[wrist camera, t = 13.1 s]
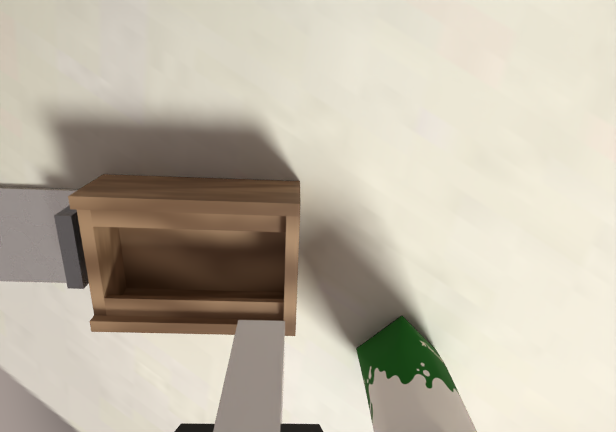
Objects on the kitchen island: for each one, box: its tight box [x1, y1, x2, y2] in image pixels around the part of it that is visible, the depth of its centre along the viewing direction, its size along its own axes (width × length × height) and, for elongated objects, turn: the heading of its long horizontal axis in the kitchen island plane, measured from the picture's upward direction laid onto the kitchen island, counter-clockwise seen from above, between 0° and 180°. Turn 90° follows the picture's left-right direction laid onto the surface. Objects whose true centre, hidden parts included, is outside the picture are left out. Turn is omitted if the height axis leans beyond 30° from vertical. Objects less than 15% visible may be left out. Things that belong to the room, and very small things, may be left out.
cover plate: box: [0, 187, 89, 289], centre depth 43 cm, size 11×17×4 cm, turn 88°
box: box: [68, 174, 300, 336], centre depth 42 cm, size 14×20×7 cm
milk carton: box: [356, 316, 477, 432], centre depth 42 cm, size 9×9×20 cm
